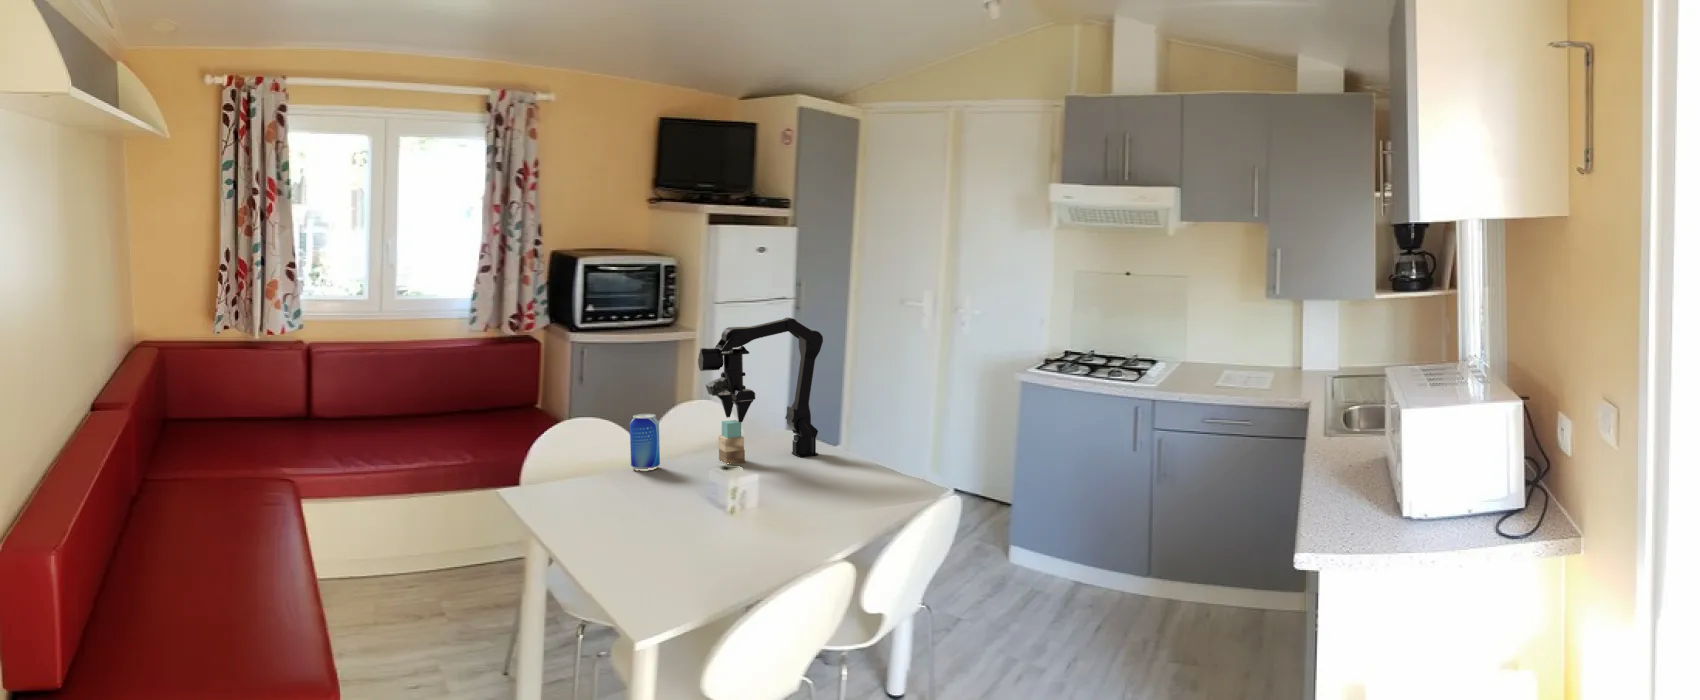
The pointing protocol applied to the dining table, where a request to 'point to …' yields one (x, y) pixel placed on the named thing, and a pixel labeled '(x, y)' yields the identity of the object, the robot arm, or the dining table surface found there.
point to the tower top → (730, 443)
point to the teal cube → (731, 429)
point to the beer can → (644, 441)
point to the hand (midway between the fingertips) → (734, 419)
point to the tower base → (732, 456)
